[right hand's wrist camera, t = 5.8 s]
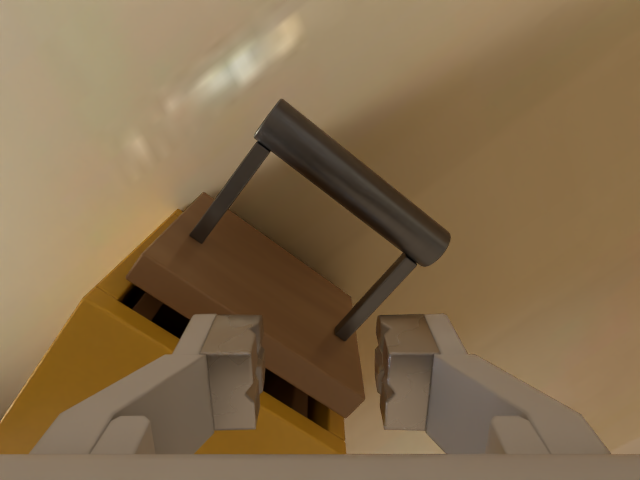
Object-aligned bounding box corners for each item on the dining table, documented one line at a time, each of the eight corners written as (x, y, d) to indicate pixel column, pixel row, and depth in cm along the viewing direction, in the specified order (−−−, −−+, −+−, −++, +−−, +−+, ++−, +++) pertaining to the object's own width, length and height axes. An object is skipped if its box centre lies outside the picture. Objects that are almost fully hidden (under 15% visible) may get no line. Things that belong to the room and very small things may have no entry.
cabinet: (178, 207, 23) (82, 297, 14) (337, 318, 25) (347, 458, 16) (48, 392, 27) (-93, 558, 18) (195, 473, 29) (138, 657, 20)
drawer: (279, 84, 20) (255, 89, 12) (431, 207, 22) (490, 276, 14) (73, 375, 25) (-31, 501, 18) (210, 452, 27) (168, 595, 20)
